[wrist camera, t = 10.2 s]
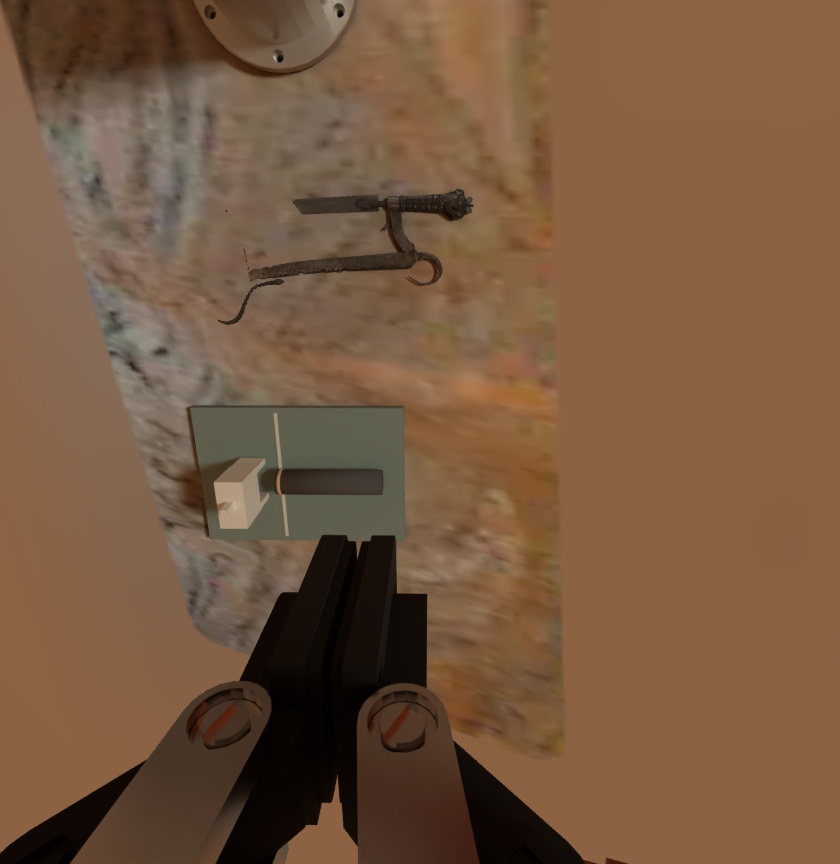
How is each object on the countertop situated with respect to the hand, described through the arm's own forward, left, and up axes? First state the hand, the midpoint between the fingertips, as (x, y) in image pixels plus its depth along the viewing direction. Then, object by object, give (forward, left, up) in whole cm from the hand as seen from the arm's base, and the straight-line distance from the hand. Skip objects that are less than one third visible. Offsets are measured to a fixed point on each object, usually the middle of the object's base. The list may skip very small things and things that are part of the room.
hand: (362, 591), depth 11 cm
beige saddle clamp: (+12, -16, -34) cm, 39 cm away
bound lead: (+12, -8, -34) cm, 37 cm away
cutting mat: (+12, -11, -35) cm, 39 cm away
